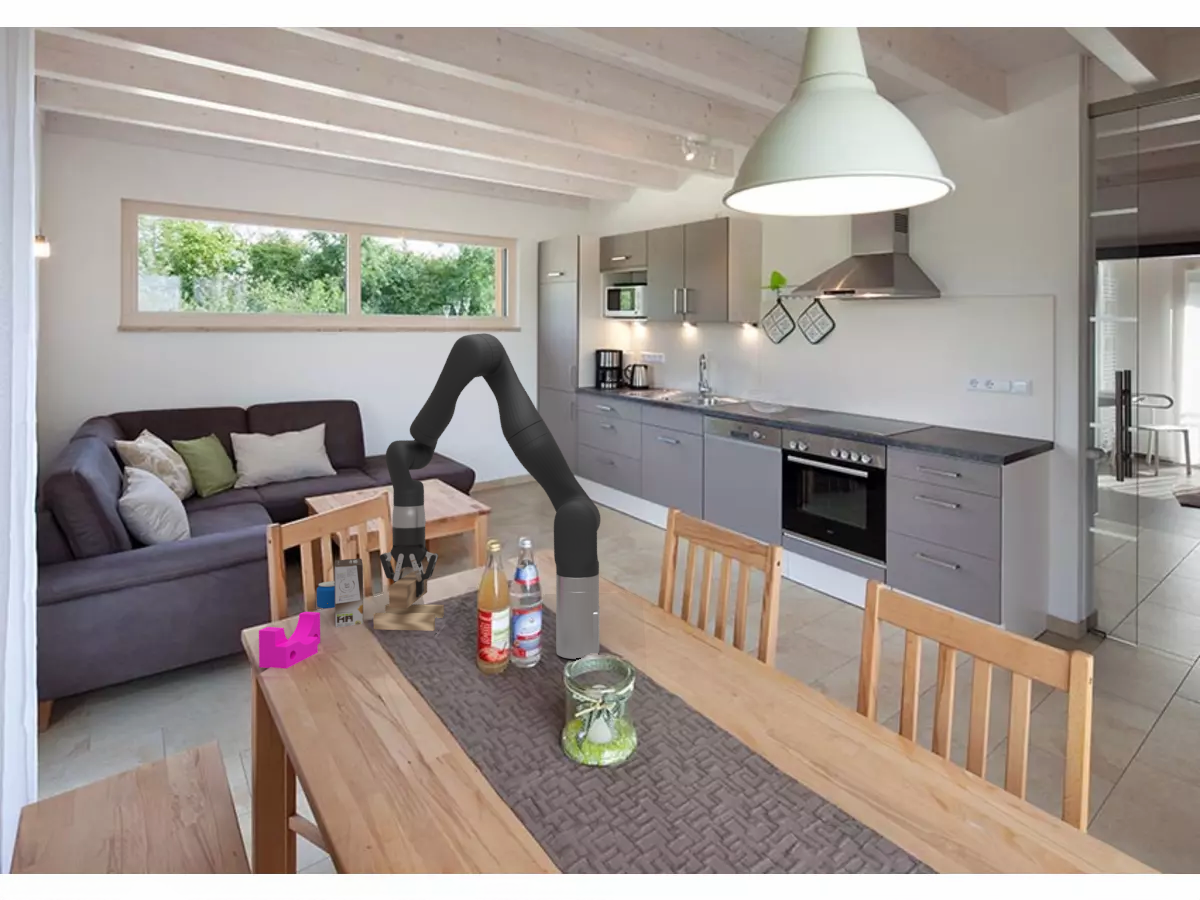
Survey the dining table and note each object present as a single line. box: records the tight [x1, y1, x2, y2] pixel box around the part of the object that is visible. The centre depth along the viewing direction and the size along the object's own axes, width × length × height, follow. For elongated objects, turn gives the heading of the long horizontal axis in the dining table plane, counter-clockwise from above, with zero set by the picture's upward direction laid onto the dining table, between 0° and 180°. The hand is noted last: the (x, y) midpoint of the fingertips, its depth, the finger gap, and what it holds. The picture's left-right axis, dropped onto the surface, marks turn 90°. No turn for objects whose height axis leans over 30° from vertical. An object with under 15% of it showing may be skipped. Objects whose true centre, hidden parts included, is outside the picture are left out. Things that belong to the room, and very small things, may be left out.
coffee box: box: [334, 558, 364, 628], centre depth 169 cm, size 9×6×16 cm
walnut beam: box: [388, 571, 428, 608], centre depth 167 cm, size 16×4×5 cm, turn 177°
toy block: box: [258, 611, 321, 669], centre depth 148 cm, size 15×6×8 cm, turn 168°
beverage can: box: [316, 580, 335, 609], centre depth 177 cm, size 6×6×12 cm
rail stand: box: [372, 603, 445, 636], centre depth 167 cm, size 16×13×5 cm
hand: (409, 595), depth 167 cm, fingers closed on walnut beam, 4 cm apart
